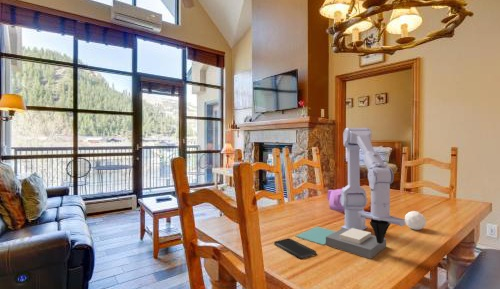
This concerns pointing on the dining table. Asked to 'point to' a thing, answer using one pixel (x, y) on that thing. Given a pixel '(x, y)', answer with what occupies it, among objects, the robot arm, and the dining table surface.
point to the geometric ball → (415, 220)
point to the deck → (363, 249)
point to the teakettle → (335, 200)
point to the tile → (355, 235)
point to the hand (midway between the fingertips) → (380, 242)
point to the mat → (316, 235)
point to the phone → (295, 248)
